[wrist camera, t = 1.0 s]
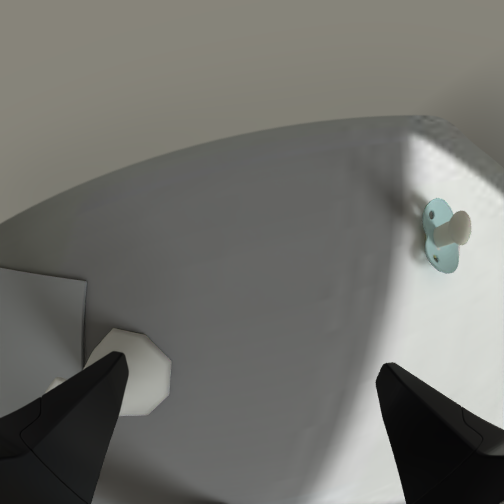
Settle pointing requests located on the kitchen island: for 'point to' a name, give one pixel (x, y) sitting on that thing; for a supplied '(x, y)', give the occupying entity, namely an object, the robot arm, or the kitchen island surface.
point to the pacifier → (445, 234)
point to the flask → (135, 370)
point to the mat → (38, 334)
